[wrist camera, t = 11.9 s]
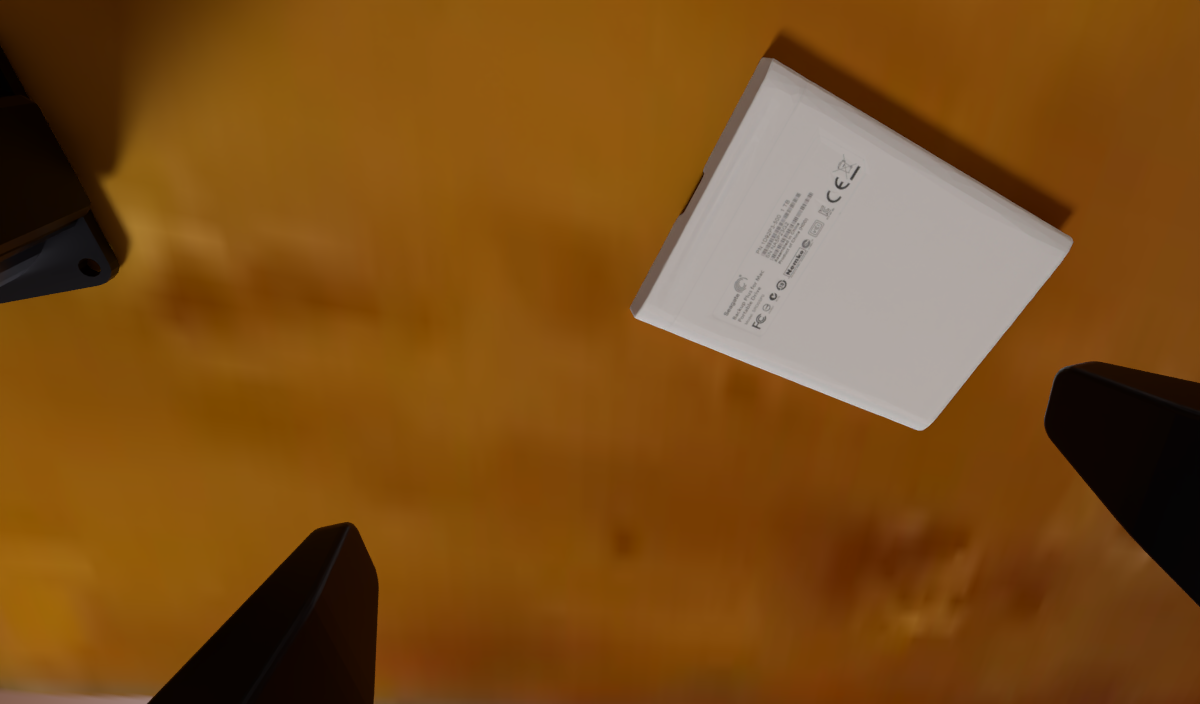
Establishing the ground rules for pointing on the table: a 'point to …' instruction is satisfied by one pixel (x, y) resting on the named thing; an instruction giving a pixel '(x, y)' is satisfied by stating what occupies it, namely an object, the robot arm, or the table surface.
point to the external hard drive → (845, 255)
